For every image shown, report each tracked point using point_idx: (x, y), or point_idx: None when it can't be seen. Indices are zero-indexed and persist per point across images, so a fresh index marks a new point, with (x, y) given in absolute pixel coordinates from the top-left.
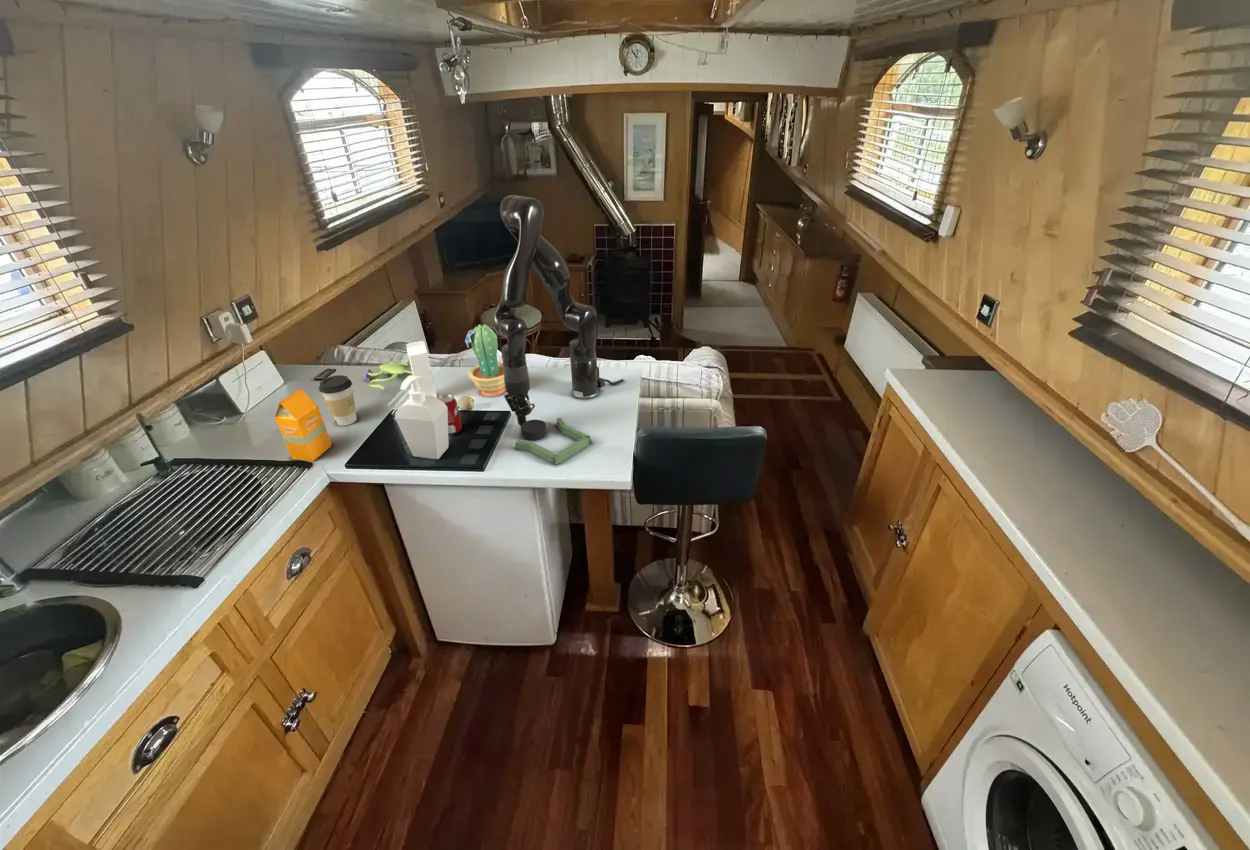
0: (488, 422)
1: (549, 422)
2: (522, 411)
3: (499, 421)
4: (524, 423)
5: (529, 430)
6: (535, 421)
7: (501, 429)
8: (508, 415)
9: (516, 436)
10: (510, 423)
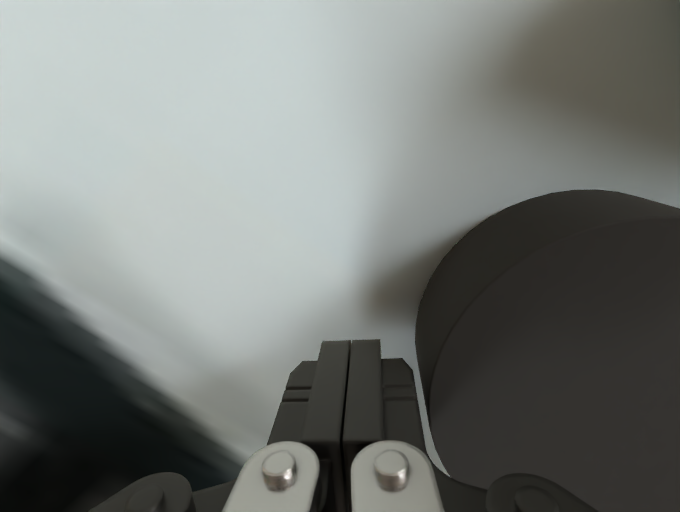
0: (43, 478)
1: (514, 16)
2: (321, 488)
3: (82, 413)
4: (459, 442)
5: (664, 501)
6: (552, 310)
7: (229, 478)
8: (16, 291)
9: (441, 467)
10: (183, 369)
